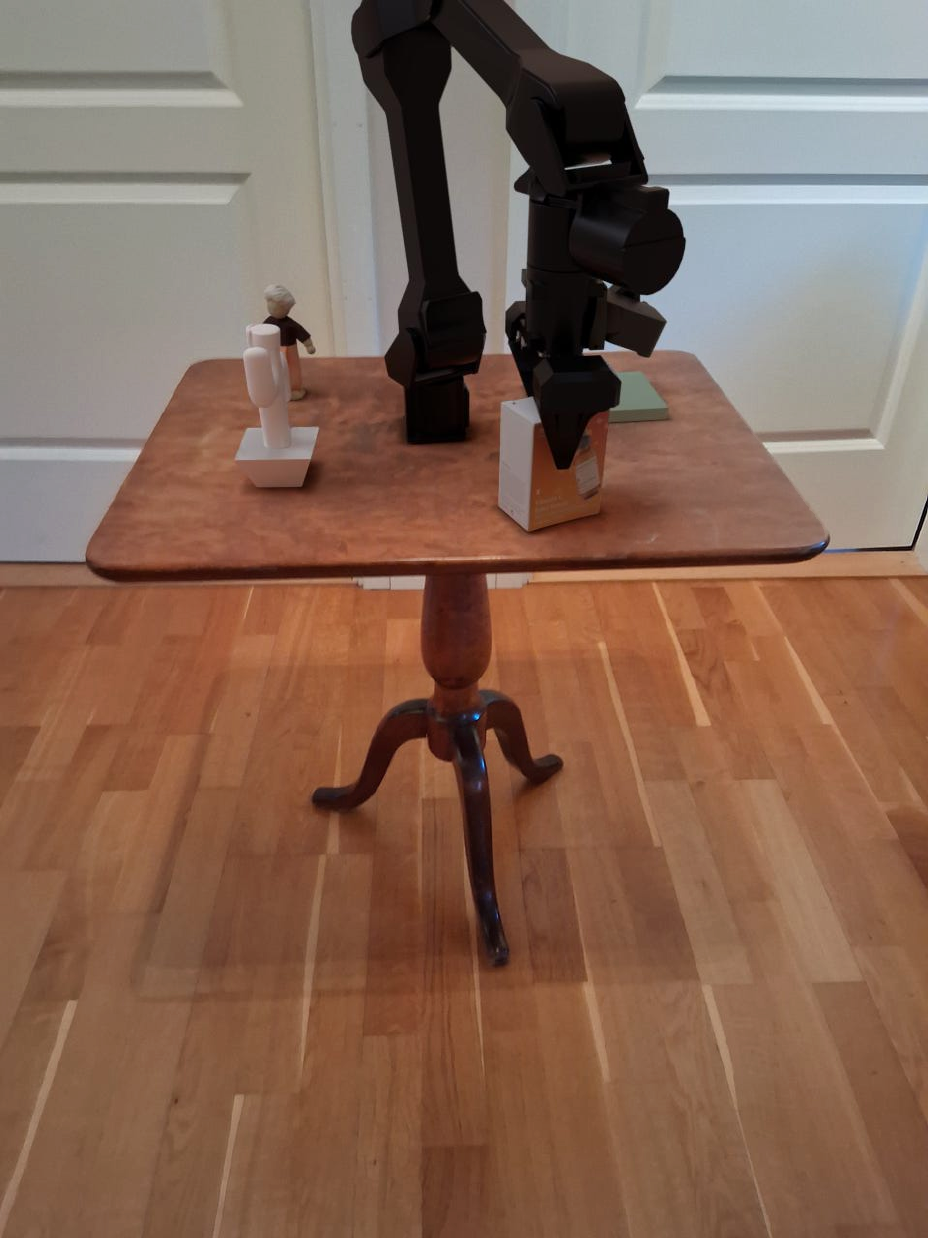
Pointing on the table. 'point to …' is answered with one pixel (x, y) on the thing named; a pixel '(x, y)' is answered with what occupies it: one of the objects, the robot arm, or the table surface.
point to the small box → (547, 469)
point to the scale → (637, 400)
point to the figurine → (272, 416)
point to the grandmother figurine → (288, 334)
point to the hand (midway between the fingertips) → (552, 445)
